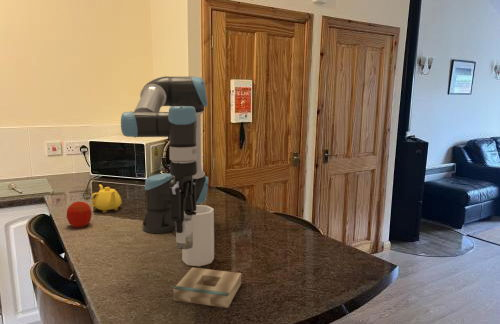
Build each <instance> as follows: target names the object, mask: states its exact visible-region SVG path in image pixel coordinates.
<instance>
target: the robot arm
mask: <svg viewBox="0 0 500 324" xmlns="http://www.w3.org/2000/svg"><path fill="white" fill-rule="evenodd" d="M139 95H140V96H139V97H140V99H139V101H138V103H137V105H136V107H135V108H134V111H124V112H123V113H122V114H121V116H120V128H121V133H122V135H123V136H124V137H126V138H159V137H161V138H169V160H170V161H171V162H169V173H167V172H165V173H159V174H154V175H150V176H149V177H147V178H146V179H145V182H144V183H145V184H144V192H145V193H144V197H145V214H144V218H143V221H142V225H141V226H142V230H143V232H145V233H149V234H163V233H164V234H165V233H170V232H173V231H175V241H176V244H177V243H186V221H184V218H191V219H192V223H193V215H196V212H194V211H196V205H199V204H203V203H206V200H207V197H208V191H209V189H208V188H209V176H206V173H205V171H204V170H203V169H202V127H201V126H202V125H201V121H202V118H201V117H202V114H203V113H204V112H205V108H206V107H208V105H209V104H208V98H207V97H208V96H207V90H206V84H205V80H204V78H202V77H199V76H170V75H169V76H166V75H165V76H160V77H157V78H155V79H152V80H150V81H149V82H147V83H146V84H145V85H144V86H143V87H142V89H141V90H140V93H139ZM162 107H169V109H168V111H161V108H162ZM184 213H185V214H187V215H184Z"/></svg>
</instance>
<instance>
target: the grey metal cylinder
mask: <svg viewBox="0 0 500 324" xmlns="http://www.w3.org/2000/svg"><path fill="white" fill-rule="evenodd" d="M184 221H186V243H176V247H177V249H179V250H182V249H190V248H192V247H193V223H192V219H191V218H184Z"/></svg>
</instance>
